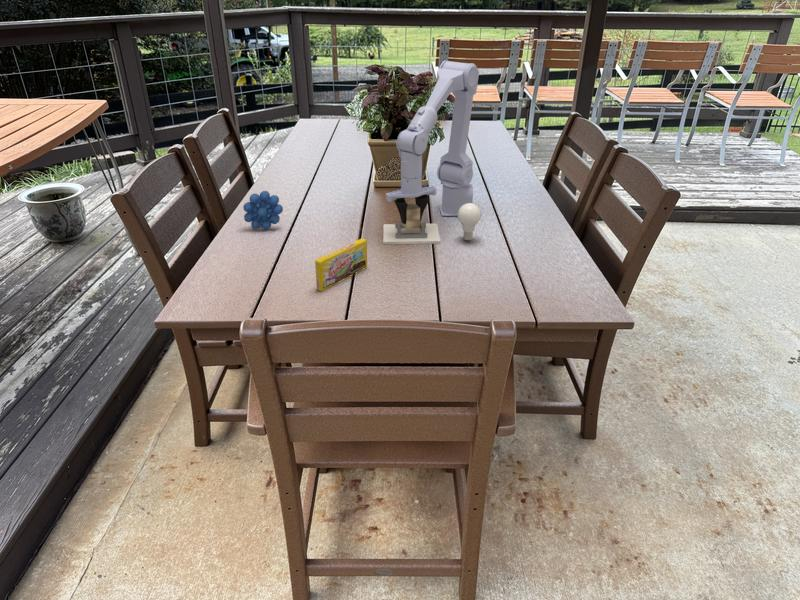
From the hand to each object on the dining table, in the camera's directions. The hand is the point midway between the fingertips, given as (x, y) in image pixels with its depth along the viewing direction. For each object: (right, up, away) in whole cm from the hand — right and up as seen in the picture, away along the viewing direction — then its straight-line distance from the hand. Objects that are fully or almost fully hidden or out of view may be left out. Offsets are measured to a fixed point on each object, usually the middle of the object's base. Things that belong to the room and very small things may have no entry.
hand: (411, 221), depth 156 cm
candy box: (-17, -17, -19) cm, 31 cm away
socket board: (0, -4, +2) cm, 4 cm away
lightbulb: (+16, -6, -1) cm, 17 cm away
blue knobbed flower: (-43, -1, +7) cm, 44 cm away
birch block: (0, -1, +1) cm, 2 cm away
